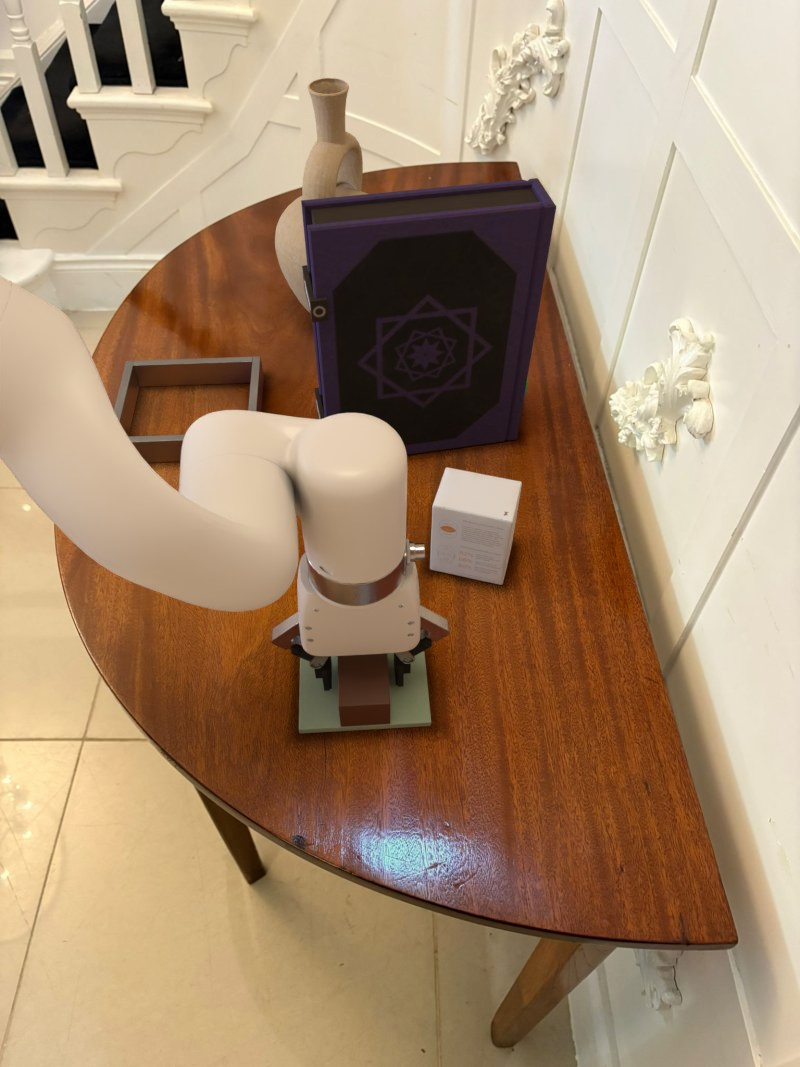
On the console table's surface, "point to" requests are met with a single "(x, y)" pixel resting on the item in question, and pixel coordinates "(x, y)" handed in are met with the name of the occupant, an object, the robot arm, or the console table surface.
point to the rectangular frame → (181, 374)
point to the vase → (320, 177)
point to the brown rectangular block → (363, 690)
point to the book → (428, 307)
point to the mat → (324, 717)
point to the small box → (473, 525)
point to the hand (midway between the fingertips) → (363, 673)
